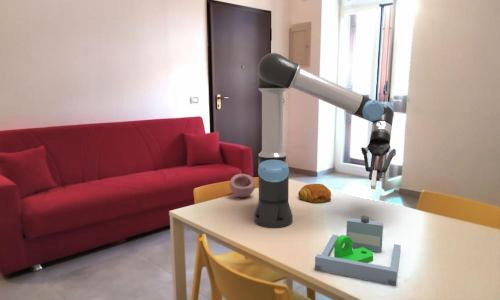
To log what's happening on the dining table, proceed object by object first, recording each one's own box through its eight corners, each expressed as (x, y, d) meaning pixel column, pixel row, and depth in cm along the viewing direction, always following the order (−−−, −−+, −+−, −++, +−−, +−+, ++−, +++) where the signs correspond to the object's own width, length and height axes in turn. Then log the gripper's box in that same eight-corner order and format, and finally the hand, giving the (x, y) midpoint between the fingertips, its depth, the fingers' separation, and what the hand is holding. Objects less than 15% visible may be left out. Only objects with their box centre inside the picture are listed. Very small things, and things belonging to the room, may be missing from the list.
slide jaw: (345, 246, 123) (347, 216, 121) (347, 243, 126) (348, 213, 124) (381, 252, 119) (382, 220, 117) (381, 248, 121) (383, 217, 119)
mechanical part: (348, 270, 108) (349, 244, 107) (334, 261, 114) (334, 237, 112) (377, 260, 114) (378, 235, 113) (362, 252, 119) (363, 229, 118)
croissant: (296, 199, 181) (294, 183, 180) (327, 193, 182) (325, 178, 181) (304, 208, 167) (301, 191, 166) (337, 202, 168) (335, 185, 167)
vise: (314, 269, 108) (315, 256, 108) (332, 238, 130) (332, 227, 129) (395, 285, 99) (396, 271, 99) (400, 249, 121) (401, 237, 120)
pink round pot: (232, 201, 172) (231, 177, 170) (228, 194, 183) (227, 171, 181) (257, 199, 174) (257, 175, 172) (252, 192, 186) (251, 170, 184)
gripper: (362, 129, 148) (353, 180, 136) (397, 130, 142) (391, 183, 130) (364, 140, 153) (356, 190, 142) (398, 141, 147) (392, 194, 136)
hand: (373, 187), depth 136 cm, fingers closed
